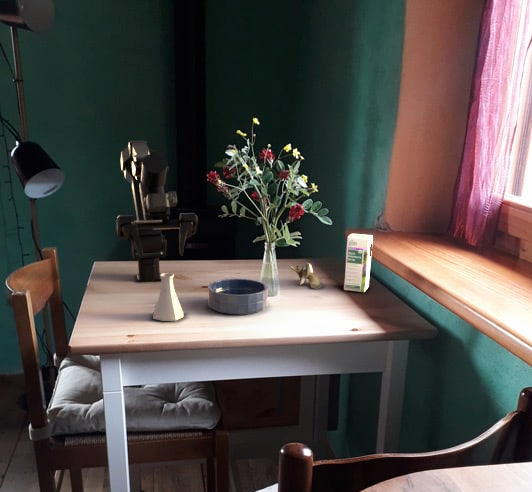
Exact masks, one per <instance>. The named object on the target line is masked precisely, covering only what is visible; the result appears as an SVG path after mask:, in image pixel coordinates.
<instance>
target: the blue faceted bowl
mask: <svg viewBox="0 0 532 492" xmlns="http://www.w3.org/2000/svg"><path fill="white" fill-rule="evenodd" d="M268 294H269V286H268V284H266V283H264V282H263V281H260V280H255V279H249V278H226V279H220V280H216V281H213V282H211V283H209V284H208V285H207V305H208V307H209V308H210V309H212V310H214V311H216V312H218V313H220V314H226V315H233V316H234V315H235V316H236V315H238V316H239V315H240V316H241V315H251V314H256V313H258V312H261V311H263V310H265V309H266V308H267V306H268V301H269V300H268V298H269V297H268V296H269V295H268Z"/></svg>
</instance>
